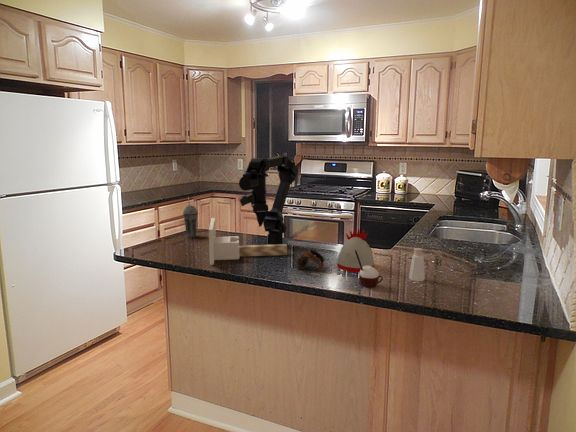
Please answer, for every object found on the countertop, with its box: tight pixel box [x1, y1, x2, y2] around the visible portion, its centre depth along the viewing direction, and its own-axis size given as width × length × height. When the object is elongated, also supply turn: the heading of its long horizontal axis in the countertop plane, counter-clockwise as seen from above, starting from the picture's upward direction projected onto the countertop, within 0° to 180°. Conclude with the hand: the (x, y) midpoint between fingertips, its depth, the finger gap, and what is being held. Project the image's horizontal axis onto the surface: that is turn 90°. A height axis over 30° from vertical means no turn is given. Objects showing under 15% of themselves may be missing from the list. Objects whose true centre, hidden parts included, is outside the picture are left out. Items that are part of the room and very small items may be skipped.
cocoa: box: [355, 250, 383, 288], centre depth 139 cm, size 10×6×12 cm, turn 68°
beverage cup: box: [182, 196, 199, 238], centre depth 208 cm, size 7×7×20 cm
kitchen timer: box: [336, 228, 375, 273], centre depth 160 cm, size 14×14×15 cm
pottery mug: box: [296, 249, 325, 272], centre depth 156 cm, size 12×10×8 cm
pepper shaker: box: [408, 247, 426, 283], centre depth 146 cm, size 5×5×11 cm
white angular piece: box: [208, 217, 240, 266], centre depth 174 cm, size 12×24×14 cm, turn 8°
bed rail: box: [239, 243, 288, 258], centre depth 176 cm, size 23×6×5 cm, turn 98°
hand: (259, 224), depth 180 cm, fingers open, 9 cm apart
